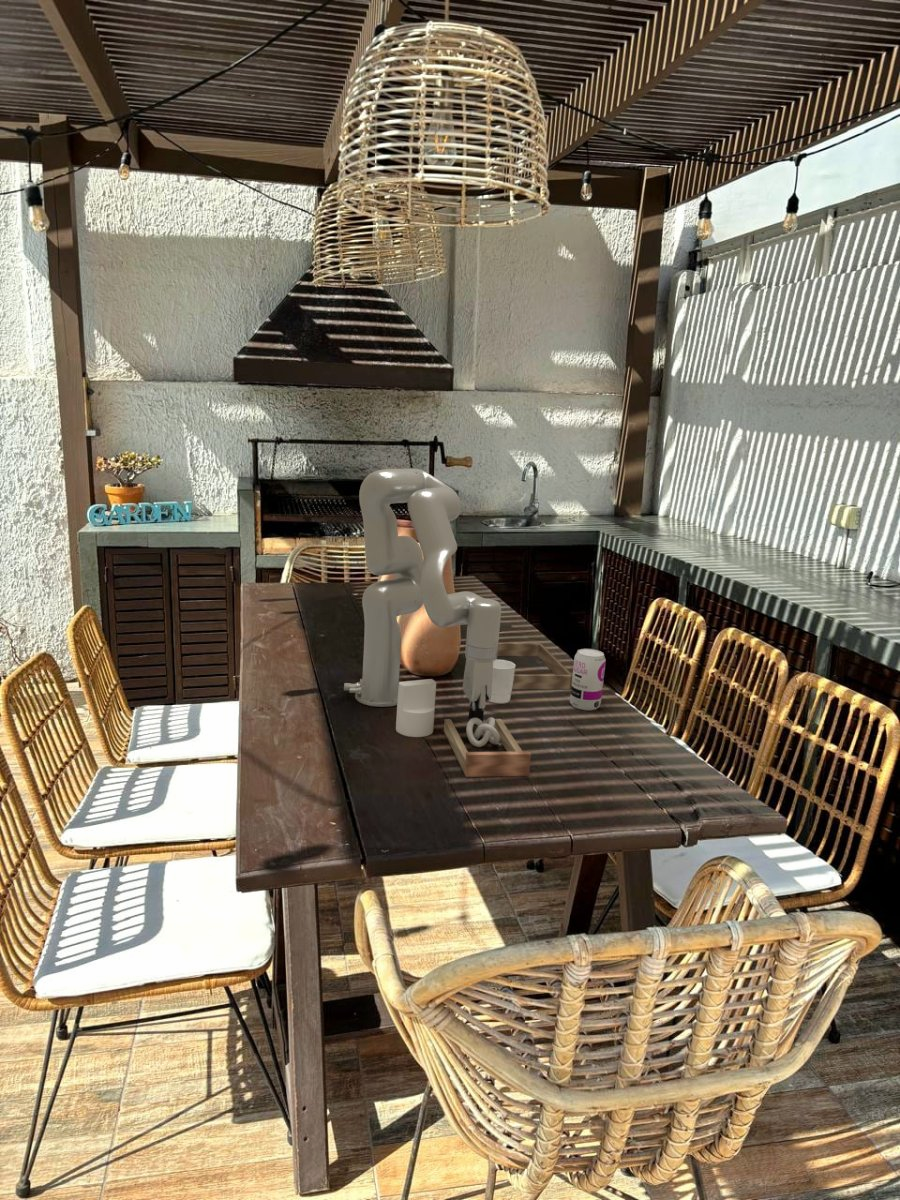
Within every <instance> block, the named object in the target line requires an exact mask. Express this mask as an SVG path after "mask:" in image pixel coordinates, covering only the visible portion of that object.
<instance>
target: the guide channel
mask: <svg viewBox="0 0 900 1200" xmlns="http://www.w3.org/2000/svg"><path fill="white" fill-rule="evenodd" d="M494 719H495V725H494V728H495V729H496V730H497V732H498V733H499V736H500V741H499V742H500V743H501V744H502V746H503V747H504V749H505V750H506V751H468V750H467V747H466V745H465V744H464V741H463V740H462V738H461V736H460V734H459V732H458V730H457V728H456V727H455V725H454V723H453V721H452V719H449V718H448V719H447V718H446V719H445V718H444V723H443V733H444V734H445V737H446V739H447V740H448V743H449V745H450V747H451V749H452V750H453V753H454V755H455V757H456V759H457V762H458V764H459V765H460V767H461V770H462V771H463V774H464V776H465V777H466V778H467V777H470V778H473V777H475V778H477V777H523V776H524V777H525V776H530V771H531V770H530V769H531V757H532V753H531V752H530V751H523V750H522V748H521V747H520V746H519V744H518V742H517V741H516V740H515V738H514V737H513V735H512V734H511V732H510V731H509V729H508V728H507V725H505V723H504V721H503V720H502V719H501V718H494Z"/></svg>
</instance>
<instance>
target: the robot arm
mask: <svg viewBox="0 0 900 1200" xmlns="http://www.w3.org/2000/svg"><path fill="white" fill-rule="evenodd" d="M358 494H359V495H358V497H359V500H358V501H359V506H360V511H361V516H362V520H363V521H362V522H363V536H364V539H363V540H364V555H365V565H366V567H367V570H368V572H370V573H371V574H372V575H374V576H381V577H382V576H388V575H394V578H392V579H391V578H390V579H385V580H380V581H376V582H373V583H372V584H370V585H369V586H367V587H366V588H365V590H364V591H363V595H362V600H361V601H362V603H361V605H362V610H363V617H364V634H363V635H364V638H363V660H362V676H361V678H360V679H359V681H358V682H355V683H351V682H350V683H349V682H344V683H343V691H348V692H349V694H352V693H353V694H355V695H354V697H355V700H356V701H357V702H359V703H360V704H362V705H365V706H366V705H367V706H369V707H375V708H376V707H377V708H387V707H394V706H397V704H398V688H399V682H400V666H401V654H402V653H401V652H402V651H401V650H402V649H401V648H402V630H401V627H400V624H399V622H398V620H397V617H399V616H403V615H407V614H412V613H415V612H417V611H418V610H420V609H421V608H422V606H424V609H425V612H426V614H427V616H428V618H429V620H430V622H431V623H432V624H433V625H434V626H437V627H438V628H444V629H445V628H450V627H451V628H452V627H454V626H458V625H465V624H467V629H466V639H465V652H464V653H465V654H464V657H465V659H466V660H465V666H464V673H463V680H462V681H463V682H462V690H463V693H464V694H465V695H466V697H467V698H468V700H469V709H468V720H467V723H468V722H469V720H470V719H472V718H478V719H480V720H481V721H482V722H483V723H484V712H485V708H486V702H487V703H489V702H490V700H491V694H492V681H493V661H495V660H498V656H497V652H498V643H499V637H500V628H501V627H500V626H501V617H502V616H501V615H502V604H500V602H499V601H497V600H495V599H491V598H484V597H483V596H480V595H479V594H476V593H474V592H472V591H466V590H465V591H459V592H454V593H447V591H446V588H445V584H444V578H443V574H444V569H445V566H446V564H447V562H448V561H449V559H450V558H451V557H452V556H453V555H454V554H455V553H456V552H457V550H458V544H457V541H456V538H455V534H454V533H453V530H452V526H451V523H450V522H451V521H454V520H456V519H457V518H458V517H459V516H460V514H461V511H462V503H461V500H460V497H459V495H458V493H456V491H455V490H454V489H453V488H452V487H450V486H449V485H447V484H446V483H444V482H443V481H441V480H439V479H438V478H436V477H435V476H433V475H432V474H430V473H428V472H427V471H425V470H423V469H420V468H415V467H414V468H410V467H409V468H385V469H379V470H375V471H372V472H371V473H369V474H368V475H367V476H366V477H365V478H364V479H363V481H362V482H361V485H360V489H359V493H358ZM405 503H407V510H408V514H409V516H410V520H411V523H412V526H413V528H414V532H415V535H416V538H417V540H416V539H415V538H413V537H411V536H409V535H399V532H398V530H399V529H398V521H397V520H398V519H397V517H396V515H395V512H394V511H393V509H392V507H391V506H390V505H391V504H405ZM473 727H478V725H476V724H474V725H473Z"/></svg>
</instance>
